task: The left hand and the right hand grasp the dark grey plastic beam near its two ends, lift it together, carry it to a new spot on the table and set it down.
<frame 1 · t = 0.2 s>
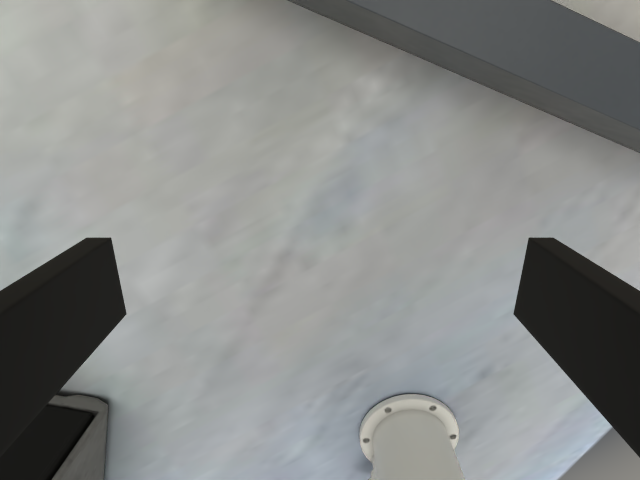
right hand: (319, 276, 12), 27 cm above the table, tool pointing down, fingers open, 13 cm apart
beam: (450, 37, 35), on the table
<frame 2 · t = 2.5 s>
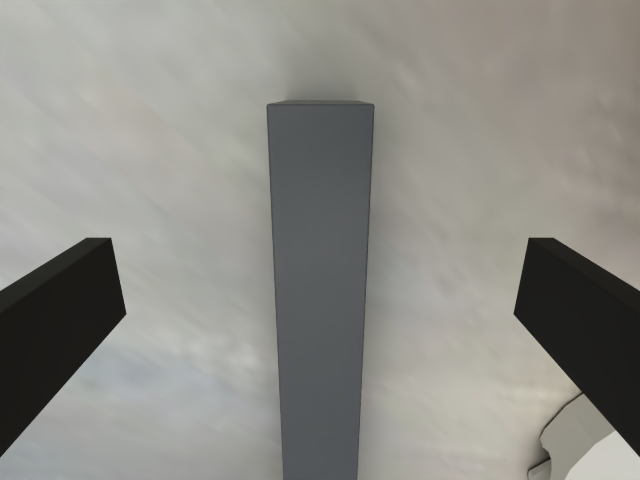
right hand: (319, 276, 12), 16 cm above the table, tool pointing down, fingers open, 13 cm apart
beam: (320, 404, 35), on the table, touching left hand
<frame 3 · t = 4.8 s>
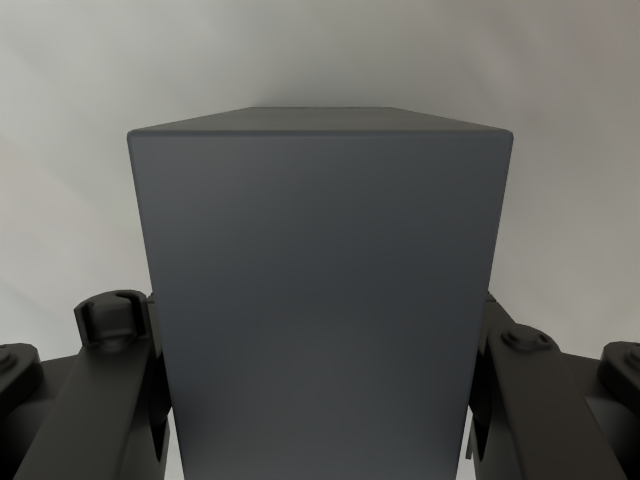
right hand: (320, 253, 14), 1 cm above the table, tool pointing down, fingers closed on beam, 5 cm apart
when the right hand's fingers open (2 cm above the table, at t = 13.3 s): beam drops 1 cm, on the table.
when the left hand's fingers open (5 cm above the table, at t = 13.4 s): beam stays where it is, on the table.
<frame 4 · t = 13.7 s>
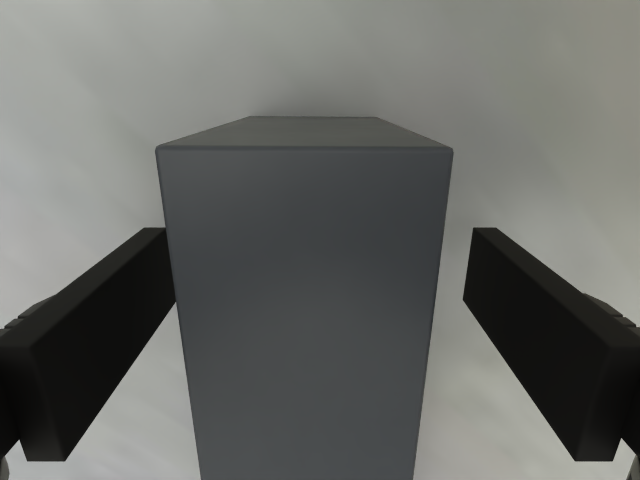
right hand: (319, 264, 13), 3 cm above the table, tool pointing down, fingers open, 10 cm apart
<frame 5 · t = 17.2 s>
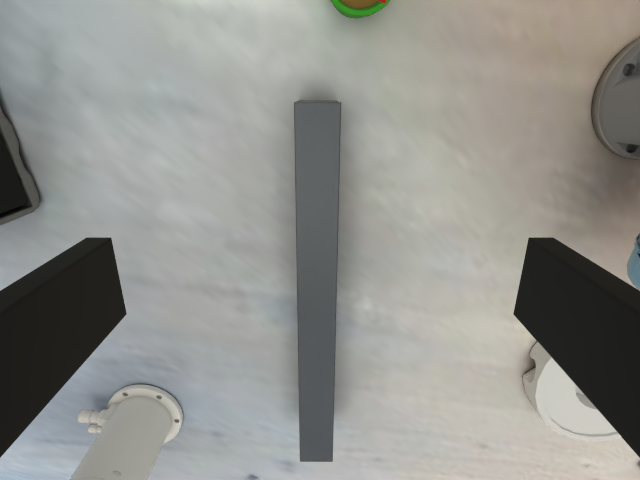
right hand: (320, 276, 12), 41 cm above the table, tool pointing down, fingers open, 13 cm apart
ashtray: (594, 366, 63), on the table
beam: (317, 283, 58), on the table
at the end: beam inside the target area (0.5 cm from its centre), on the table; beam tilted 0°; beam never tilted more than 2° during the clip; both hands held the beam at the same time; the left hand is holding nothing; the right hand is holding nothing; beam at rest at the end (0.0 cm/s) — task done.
